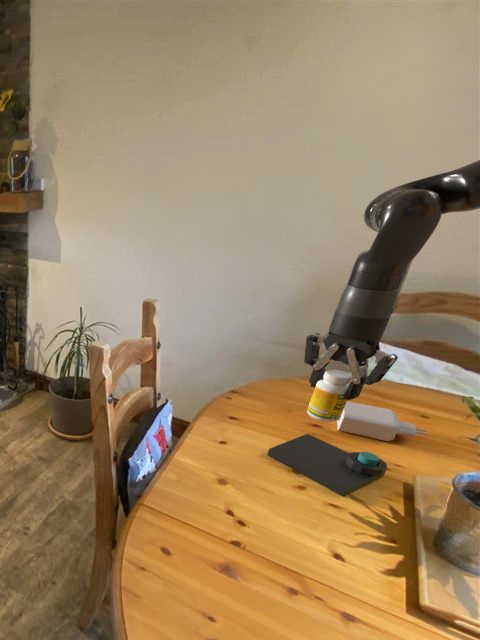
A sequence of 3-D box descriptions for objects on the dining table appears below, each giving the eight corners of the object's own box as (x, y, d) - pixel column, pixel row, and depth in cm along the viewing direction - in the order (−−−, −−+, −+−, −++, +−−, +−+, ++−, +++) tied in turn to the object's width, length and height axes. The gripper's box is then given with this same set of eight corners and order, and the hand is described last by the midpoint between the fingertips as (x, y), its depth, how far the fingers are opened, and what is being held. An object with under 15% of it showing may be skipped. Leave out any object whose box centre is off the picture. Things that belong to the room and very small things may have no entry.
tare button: (379, 464, 84) (383, 457, 83) (371, 468, 83) (373, 462, 82) (362, 456, 86) (365, 449, 86) (353, 460, 85) (356, 453, 85)
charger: (425, 452, 91) (337, 432, 99) (418, 432, 98) (336, 414, 106) (435, 434, 89) (344, 415, 97) (427, 415, 95) (342, 398, 104)
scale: (386, 478, 84) (393, 464, 83) (345, 498, 80) (351, 484, 79) (306, 439, 97) (311, 427, 96) (266, 455, 93) (271, 442, 91)
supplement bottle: (314, 406, 88) (329, 365, 84) (345, 417, 84) (362, 375, 79) (300, 413, 86) (315, 372, 82) (330, 425, 82) (348, 382, 77)
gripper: (307, 304, 80) (282, 382, 87) (401, 325, 68) (362, 413, 75) (332, 298, 82) (305, 374, 90) (427, 317, 70) (387, 404, 78)
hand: (331, 392), depth 82 cm, fingers closed on supplement bottle, 5 cm apart
